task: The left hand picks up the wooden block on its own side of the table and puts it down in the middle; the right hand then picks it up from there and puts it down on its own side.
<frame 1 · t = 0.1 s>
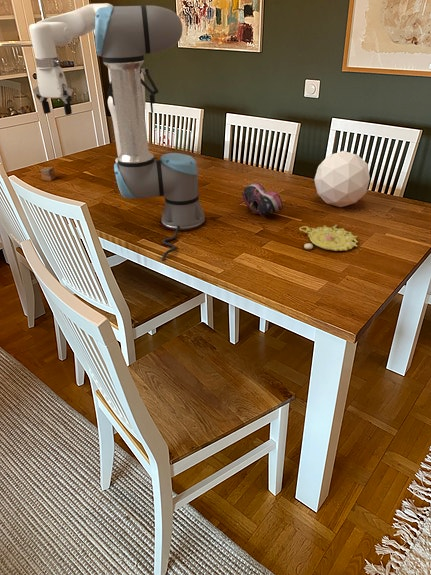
left hand: (58, 113, 168), 31 cm above the table, tool pointing down, fingers open, 9 cm apart
right hand: (135, 113, 181), 28 cm above the table, tool pointing down, fingers open, 13 cm apart
athletic shoe: (257, 211, 163), on the table
sphere: (338, 204, 166), on the table
block: (49, 179, 200), on the table
decorative object: (328, 239, 142), on the table
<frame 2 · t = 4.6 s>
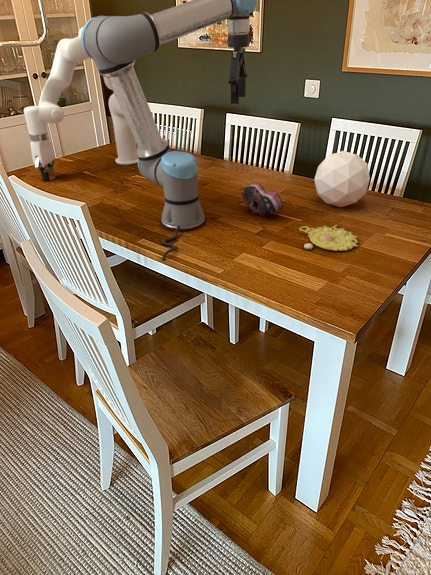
left hand: (49, 178, 200), 0 cm above the table, tool pointing down, fingers closed on block, 4 cm apart
right hand: (238, 100, 163), 34 cm above the table, tool pointing down, fingers open, 13 cm apart
block: (49, 179, 200), on the table, touching left hand
everything else where it was.
when the left hand's fingers open (1 cm above the table, at t = 8.2 s): block stays where it is, on the table.
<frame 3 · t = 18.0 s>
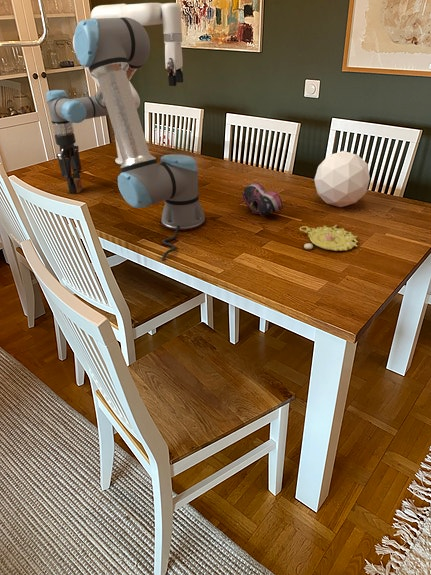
left hand: (176, 84, 190), 36 cm above the table, tool pointing down, fingers open, 9 cm apart
right hand: (75, 190, 185), 0 cm above the table, tool pointing down, fingers closed on block, 4 cm apart
block: (76, 191, 186), on the table, touching right hand
everything else where it was.
when the right hand's fingers open (1 cm above the table, at t = 26.5 s): block stays where it is, on the table.
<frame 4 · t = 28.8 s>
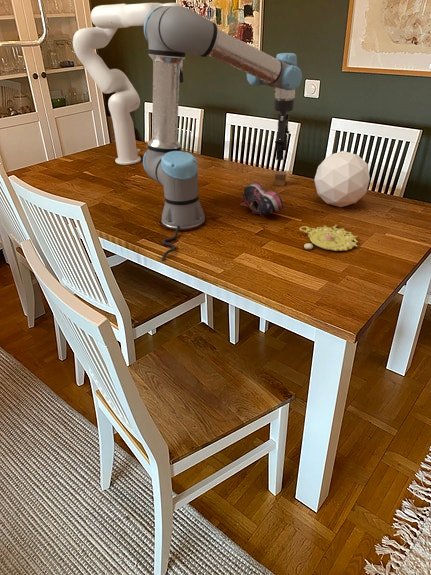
left hand: (176, 84, 190), 36 cm above the table, tool pointing down, fingers open, 9 cm apart
right hand: (281, 155, 180), 12 cm above the table, tool pointing down, fingers open, 13 cm apart
block: (279, 184, 186), on the table
everything else where it was.
at the end: block inside the target area (0.0 cm from its centre), on the table; block tilted 0°; the two hands never held the block at the same time; the left hand is holding nothing; the right hand is holding nothing; block at rest at the end (0.0 cm/s) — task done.
